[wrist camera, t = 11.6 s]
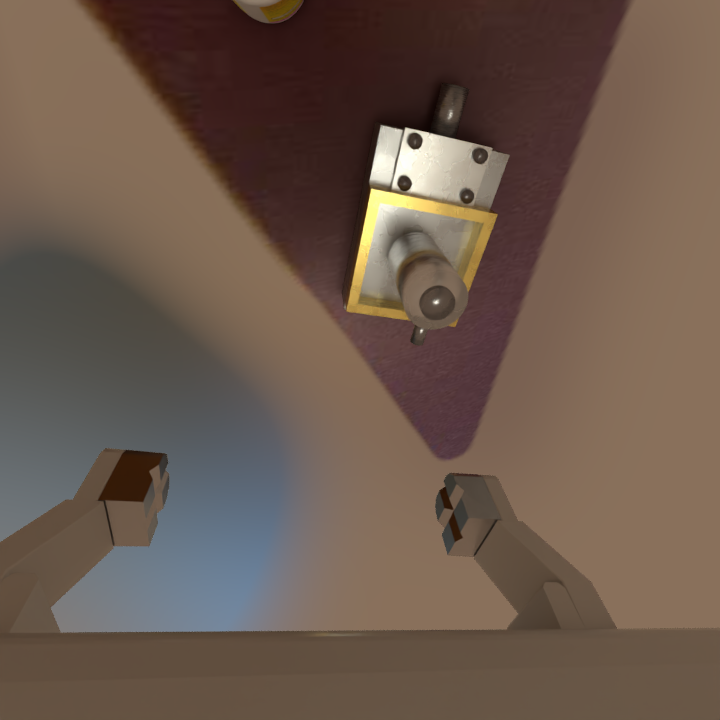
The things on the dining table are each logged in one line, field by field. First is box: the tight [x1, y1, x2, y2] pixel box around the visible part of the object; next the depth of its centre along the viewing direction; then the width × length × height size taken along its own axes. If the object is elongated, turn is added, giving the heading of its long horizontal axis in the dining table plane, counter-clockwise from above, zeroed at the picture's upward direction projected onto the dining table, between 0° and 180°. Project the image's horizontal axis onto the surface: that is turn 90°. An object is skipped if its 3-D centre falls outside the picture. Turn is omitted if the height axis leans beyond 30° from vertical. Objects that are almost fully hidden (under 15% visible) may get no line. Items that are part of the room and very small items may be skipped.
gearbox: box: [342, 83, 509, 327], centre depth 40 cm, size 22×12×6 cm, turn 168°
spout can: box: [388, 232, 468, 345], centre depth 37 cm, size 7×5×11 cm
